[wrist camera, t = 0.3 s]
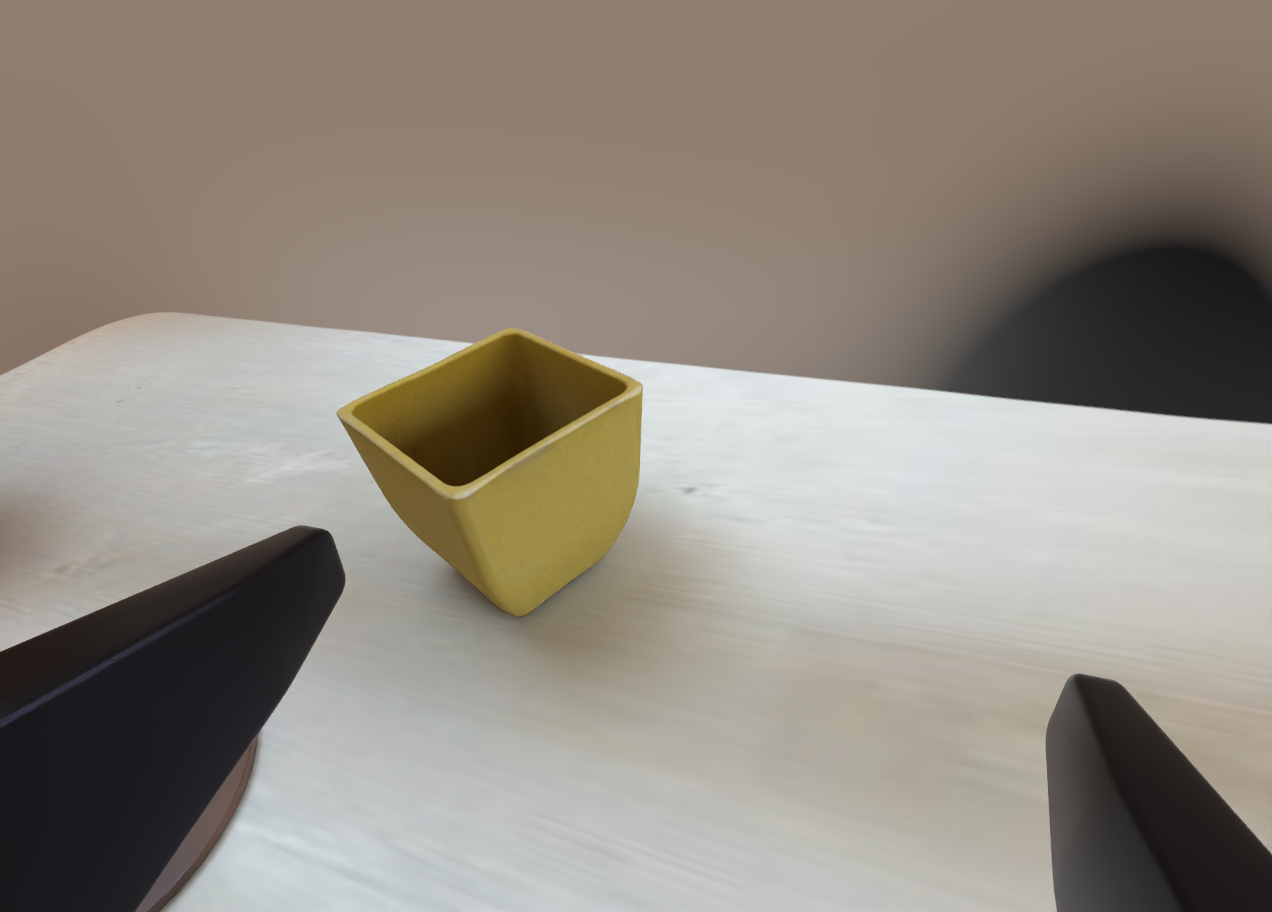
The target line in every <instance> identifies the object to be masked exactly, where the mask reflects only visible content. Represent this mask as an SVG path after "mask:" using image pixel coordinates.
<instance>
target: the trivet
mask: <svg viewBox="0 0 1272 912" xmlns="http://www.w3.org/2000/svg"><path fill="white" fill-rule="evenodd" d="M256 740H257V736H256V737H255V739H254V740H253V742H252V743H251V745H250V746H249V748H248V749H247V750H246V752H245V753H244V755H243V756H242V758H241V759H240V761H239V762H238V764H237V765H236V766H235V768H234V769H233V771H232V772H231V774H230V775H229V777H228V778H227V780H226V781H225V782H224V784H223V785H222V787H221V788H220V790H219V791H218V793H217V794H216V796H215V797H214V798H213V800H212V801H211V803H210V804H209V806H208V807H207V809H206V810H205V812H204V813H203V815H202V816H201V817H200V819H199V820H198V822H197V823H196V825H195V826H194V828H193V829H192V831H191V832H190V833H189V835H188V836H187V838H186V839H185V841H184V842H183V844H182V845H181V847H180V848H179V849H178V851H177V852H176V854H175V855H174V857H173V858H172V860H171V861H170V863H169V864H168V865H167V867H166V868H165V870H164V871H163V873H162V874H161V876H160V877H159V879H158V880H157V881H156V883H155V884H154V886H153V887H152V889H151V890H150V892H149V893H148V895H147V896H146V897H145V899H144V900H143V902H142V903H141V905H140V906H139V908H138V909H137V911H136V912H159V911H160V910H161V909H162V908H163V907H164V906H165V905H166V903H167V902H168V901H169V900H170V899H171V898H172V897H173V896H174V895H175V894H176V893H177V892H178V891H179V890H180V889H181V888H182V886H183V885H184V884H185V883H186V882H187V880H188V879H189V878H190V877H191V876H192V874H193V873H194V872H195V871H196V870H197V868H198V867H199V866H200V865H201V863H202V862H203V861H204V859H205V858H206V856H207V855H208V854H209V852H210V851H211V849H212V848H213V846H214V845H215V844H216V842H217V841H218V839H219V838H220V836H221V834H222V833H223V831H224V829H225V828H226V826H227V824H228V822H229V821H230V819H231V817H232V816H233V814H234V812H235V810H236V808H237V805H238V803H239V801H240V799H241V797H242V794H243V792H244V790H245V788H246V784H247V781H248V778H249V775H250V772H251V769H252V766H253V761H254V755H255V750H256Z"/></svg>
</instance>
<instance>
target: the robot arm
mask: <svg viewBox="0 0 1272 912" xmlns="http://www.w3.org/2000/svg"><path fill="white" fill-rule="evenodd" d="M344 586H345V572H344V569H343V566H342V563H341V560H340V557H339V554H338V551H337V548H336V545H335V542H334V539H333V537H332V535H331V534H330V533H329V532H328V531H327V530H324V529H320V528H315V527H310V526H295V527H293V528H290V529H288V530H286V531H283V532H281V533H279V534H276V535H274V536H272V537H269V538H267V539H264V540H262V541H260V542H257V543H255V544H253V545H250V546H248V547H246V548H243V549H241V550H239V551H236V552H234V553H232V554H229V555H227V556H225V557H222V558H220V559H217V560H215V561H213V562H210V563H208V564H206V565H203V566H201V567H199V568H196V569H194V570H192V571H189V572H187V573H185V574H182V575H180V576H177V577H175V578H173V579H170V580H168V581H166V582H163V583H161V584H159V585H156V586H154V587H152V588H149V589H147V590H145V591H142V592H140V593H138V594H135V595H133V596H130V597H128V598H126V599H123V600H121V601H119V602H116V603H114V604H112V605H109V606H107V607H105V608H102V609H100V610H98V611H95V612H93V613H91V614H88V615H86V616H83V617H81V618H79V619H76V620H74V621H72V622H69V623H67V624H65V625H62V626H60V627H58V628H55V629H53V630H51V631H48V632H46V633H44V634H41V635H39V636H36V637H34V638H32V639H29V640H27V641H25V642H22V643H20V644H18V645H15V646H13V647H11V648H8V649H6V650H4V651H1V652H0V912H136V911H137V909H138V908H139V906H140V905H141V903H142V902H143V900H144V899H145V897H146V896H147V895H148V893H149V892H150V890H151V889H152V887H153V886H154V884H155V883H156V881H157V880H158V879H159V877H160V876H161V874H162V873H163V871H164V870H165V868H166V867H167V865H168V864H169V863H170V861H171V860H172V858H173V857H174V855H175V854H176V852H177V851H178V849H179V848H180V847H181V845H182V844H183V842H184V841H185V839H186V838H187V836H188V835H189V833H190V832H191V831H192V829H193V828H194V826H195V825H196V823H197V822H198V820H199V819H200V817H201V816H202V815H203V813H204V812H205V810H206V809H207V807H208V806H209V804H210V803H211V801H212V800H213V798H214V797H215V796H216V794H217V793H218V791H219V790H220V788H221V787H222V785H223V784H224V782H225V781H226V780H227V778H228V777H229V775H230V774H231V772H232V771H233V769H234V768H235V766H236V765H237V764H238V762H239V761H240V759H241V758H242V756H243V755H244V753H245V752H246V750H247V749H248V748H249V746H250V745H251V743H252V742H253V740H254V739H255V737H256V736H257V734H258V733H259V732H260V730H261V729H262V727H263V726H264V724H265V723H266V721H267V720H268V718H269V717H270V716H271V714H272V713H273V711H274V710H275V708H276V707H277V705H278V704H279V702H280V701H281V699H282V698H283V696H284V695H285V693H286V692H287V690H288V688H289V687H290V685H291V683H292V682H293V680H294V678H295V677H296V675H297V673H298V671H299V670H300V668H301V666H302V664H303V662H304V661H305V659H306V657H307V655H308V653H309V652H310V650H311V648H312V646H313V644H314V643H315V641H316V639H317V637H318V635H319V634H320V632H321V630H322V628H323V626H324V625H325V623H326V621H327V619H328V617H329V616H330V614H331V612H332V610H333V608H334V607H335V605H336V603H337V601H338V599H339V598H340V596H341V594H342V592H343V589H344ZM1046 761H1047V779H1048V797H1049V816H1050V834H1051V852H1052V869H1053V882H1054V893H1055V900H1056V907H1057V912H1272V854H1271V853H1270V851H1269V850H1268V849H1267V848H1266V847H1265V846H1264V845H1263V844H1262V842H1261V841H1260V840H1259V839H1258V838H1257V837H1256V836H1255V835H1254V833H1253V832H1252V831H1251V830H1250V829H1249V828H1248V827H1247V825H1246V824H1245V823H1244V822H1243V821H1242V820H1241V819H1240V818H1239V816H1238V815H1237V814H1236V813H1235V812H1234V811H1233V810H1232V809H1231V807H1230V806H1229V805H1228V804H1227V803H1226V802H1225V801H1224V799H1223V798H1222V797H1221V796H1220V795H1219V794H1218V793H1217V792H1216V790H1215V789H1214V788H1213V787H1212V786H1211V785H1210V784H1209V783H1208V781H1207V780H1206V779H1205V778H1204V777H1203V776H1202V775H1201V773H1200V772H1199V771H1198V770H1197V769H1196V768H1195V767H1194V766H1193V764H1192V763H1191V762H1190V761H1189V760H1188V759H1187V758H1186V757H1185V755H1184V754H1183V753H1182V752H1181V751H1180V750H1179V749H1178V747H1177V746H1176V745H1175V744H1174V743H1173V742H1172V741H1171V740H1170V738H1169V737H1168V736H1167V735H1166V734H1165V733H1164V732H1163V731H1162V729H1161V728H1160V727H1159V726H1158V725H1157V724H1156V723H1155V722H1154V720H1153V719H1152V718H1151V717H1150V716H1149V715H1148V714H1147V712H1146V711H1145V710H1144V709H1143V708H1142V707H1141V706H1140V705H1139V703H1138V702H1137V701H1136V700H1135V699H1134V698H1133V697H1132V696H1131V694H1130V693H1129V692H1128V691H1127V690H1126V689H1125V688H1124V687H1123V686H1122V685H1121V684H1119V683H1118V682H1116V681H1114V680H1110V679H1105V678H1100V677H1095V676H1089V675H1084V674H1074V675H1072V676H1071V677H1069V679H1068V680H1067V682H1066V684H1065V686H1064V688H1063V690H1062V693H1061V695H1060V697H1059V700H1058V702H1057V704H1056V707H1055V709H1054V711H1053V713H1052V716H1051V718H1050V720H1049V723H1048V727H1047V732H1046Z"/></svg>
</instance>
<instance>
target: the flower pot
mask: <svg viewBox="0 0 1272 912" xmlns="http://www.w3.org/2000/svg"><path fill="white" fill-rule="evenodd" d="M642 391H643V385H642V384H641V383H640V382H638V381H636V380H635V379H633V378H631V377H628V376H626V375H624V374H622V373H620V372H618V371H616V370H613V369H610V368H608V367H606V366H603V365H600V364H598V363H596V362H594V361H592V360H589V359H587V358H584V357H582V356H580V355H578V354H575V353H573V352H571V351H568V350H566V349H564V348H562V347H560V346H557V345H555V344H553V343H551V342H549V341H547V340H545V339H542V338H540V337H538V336H536V335H533V334H531V333H529V332H526V331H524V330H520V329H516V328H508V329H505V330H503V331H500V332H498V333H495V334H493V335H491V336H489V337H487V338H485V339H483V340H481V341H479V342H477V343H475V344H473V345H471V346H469V347H467V348H465V349H463V350H461V351H459V352H457V353H455V354H453V355H451V356H449V357H447V358H445V359H443V360H441V361H440V362H437V363H435V364H433V365H431V366H429V367H427V368H425V369H423V370H420V371H418V372H416V373H414V374H412V375H409V376H407V377H405V378H402V379H400V380H398V381H395V382H393V383H391V384H389V385H387V386H384V387H382V388H380V389H378V390H376V391H374V392H372V393H370V394H367V395H365V396H363V397H361V398H359V399H357V400H355V401H353V402H351V403H349V404H348V405H346V406H344V407H343V408H341V409H339V410H338V411H337V416H338V418H339V419H340V421H341V422H342V424H343V426H344V427H345V429H346V431H347V433H348V434H349V436H350V438H351V440H352V441H353V443H354V445H355V447H356V448H357V450H358V452H359V454H360V455H361V457H362V459H363V460H364V462H365V464H366V466H367V467H368V469H369V471H370V472H371V474H372V476H373V478H374V479H375V481H376V483H377V484H378V486H379V488H380V489H381V491H382V493H383V494H384V496H385V498H386V499H387V501H388V502H389V504H390V505H391V507H392V508H393V509H394V511H395V512H396V513H397V514H398V516H399V517H400V518H401V519H402V520H403V522H404V523H405V524H406V525H407V526H408V527H409V528H410V529H411V530H412V531H413V532H414V533H415V534H416V535H417V536H418V537H419V538H420V539H421V540H422V541H423V542H424V543H425V544H426V545H428V546H429V547H430V548H431V549H432V550H433V551H435V552H436V553H437V554H438V555H439V556H441V557H442V558H443V559H444V560H445V561H446V562H448V563H449V564H450V565H451V566H452V567H453V568H454V569H456V570H457V571H458V572H459V573H460V574H461V575H462V576H464V577H465V578H466V579H467V580H468V581H469V582H470V583H472V584H473V585H474V586H475V587H476V588H477V589H478V590H479V591H481V592H482V593H483V594H484V595H485V596H486V597H487V598H488V599H489V600H490V601H491V602H493V603H494V604H495V605H496V606H497V607H499V608H500V609H501V610H503V611H505V612H507V613H509V614H511V615H513V616H516V617H521V616H524V615H526V614H528V613H529V612H531V611H532V610H533V609H535V608H536V607H537V606H539V605H540V604H542V603H543V602H544V601H545V600H547V599H548V598H549V597H551V596H552V595H553V594H555V593H556V592H557V591H558V590H560V589H561V588H562V587H564V586H565V585H566V584H568V583H569V582H570V581H572V580H573V579H575V578H576V577H577V576H579V575H580V574H581V573H583V572H584V571H585V570H587V569H588V568H590V567H591V566H592V565H594V564H595V563H596V562H598V561H599V560H600V559H601V558H603V556H604V555H605V554H606V552H607V551H608V550H609V548H610V547H611V545H612V544H613V543H614V541H615V540H616V538H617V537H618V535H619V534H620V532H621V530H622V528H623V527H624V525H625V523H626V521H627V519H628V516H629V514H630V512H631V509H632V506H633V503H634V500H635V496H636V492H637V488H638V481H639V469H640V445H641V416H642Z"/></svg>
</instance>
